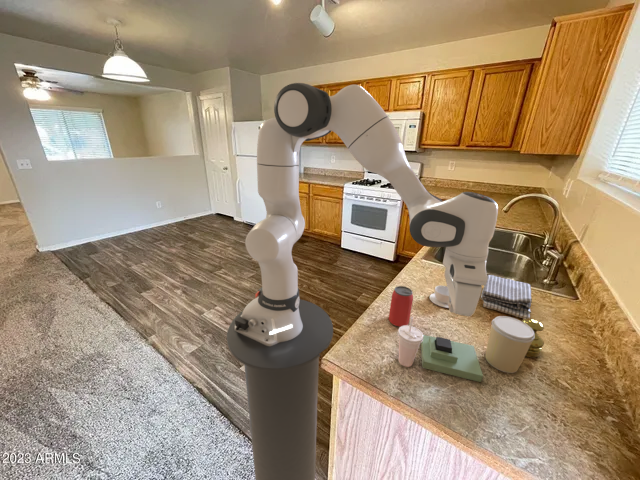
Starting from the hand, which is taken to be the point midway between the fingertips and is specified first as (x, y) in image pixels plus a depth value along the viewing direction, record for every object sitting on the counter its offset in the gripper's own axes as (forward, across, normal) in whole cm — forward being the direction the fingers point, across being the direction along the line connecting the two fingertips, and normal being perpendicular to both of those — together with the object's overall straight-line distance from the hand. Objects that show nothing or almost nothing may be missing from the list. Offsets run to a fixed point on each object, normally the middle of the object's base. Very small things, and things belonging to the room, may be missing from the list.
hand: (452, 309), depth 68 cm
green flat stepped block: (+16, 0, +2) cm, 16 cm away
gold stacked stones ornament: (+16, -12, +24) cm, 31 cm away
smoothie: (+16, +5, -9) cm, 19 cm away
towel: (+16, -38, +26) cm, 49 cm away
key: (+13, 0, 0) cm, 13 cm away
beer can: (+16, -12, -12) cm, 24 cm away
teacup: (+16, -31, +4) cm, 35 cm away
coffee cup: (+16, -4, +16) cm, 23 cm away
